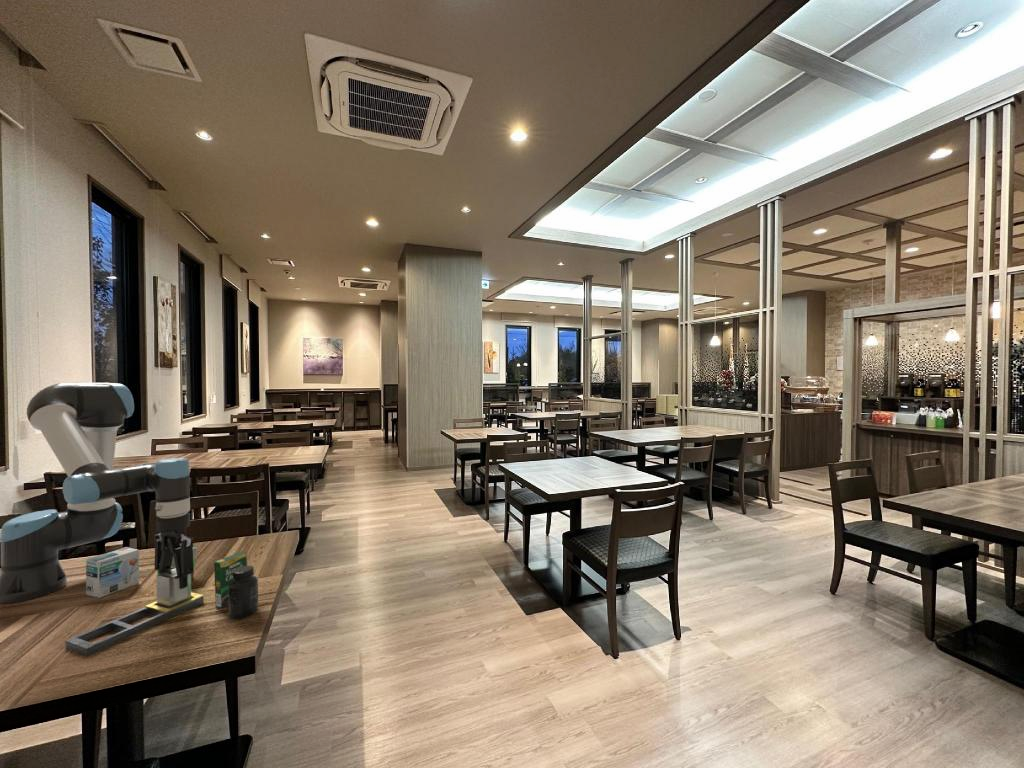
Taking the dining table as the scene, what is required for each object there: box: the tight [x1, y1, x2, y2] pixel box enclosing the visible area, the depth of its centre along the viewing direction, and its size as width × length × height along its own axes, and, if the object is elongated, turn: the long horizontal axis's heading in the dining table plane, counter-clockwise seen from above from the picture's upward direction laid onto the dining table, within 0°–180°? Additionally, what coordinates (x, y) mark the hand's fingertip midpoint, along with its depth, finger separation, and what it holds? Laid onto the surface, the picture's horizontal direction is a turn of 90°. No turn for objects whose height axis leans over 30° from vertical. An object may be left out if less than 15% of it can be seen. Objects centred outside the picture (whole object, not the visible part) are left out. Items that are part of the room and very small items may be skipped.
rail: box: [64, 591, 205, 657], centre depth 113 cm, size 9×26×2 cm, turn 158°
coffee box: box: [213, 551, 248, 610], centre depth 123 cm, size 8×3×13 cm, turn 157°
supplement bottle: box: [228, 565, 259, 620], centre depth 117 cm, size 7×7×12 cm
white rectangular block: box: [156, 568, 192, 609], centre depth 120 cm, size 6×6×9 cm
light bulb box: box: [85, 546, 140, 599], centre depth 132 cm, size 11×7×11 cm, turn 161°
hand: (174, 597), depth 120 cm, fingers closed on white rectangular block, 5 cm apart
